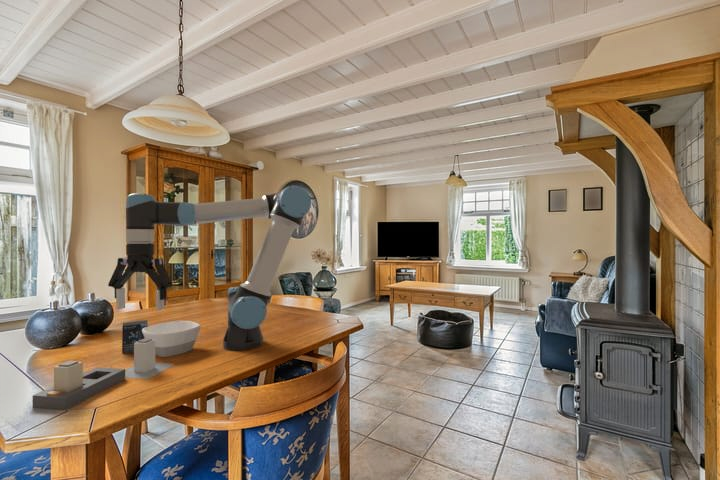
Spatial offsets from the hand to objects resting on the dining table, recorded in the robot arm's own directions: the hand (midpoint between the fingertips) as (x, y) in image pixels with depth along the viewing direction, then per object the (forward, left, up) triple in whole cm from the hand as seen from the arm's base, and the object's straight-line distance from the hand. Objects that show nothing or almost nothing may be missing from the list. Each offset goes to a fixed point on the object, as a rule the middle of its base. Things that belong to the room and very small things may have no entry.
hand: (140, 309), depth 109 cm
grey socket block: (+2, +18, -19) cm, 26 cm away
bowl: (+1, -16, -20) cm, 26 cm away
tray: (-3, +2, -19) cm, 20 cm away
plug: (-3, +2, -19) cm, 19 cm away
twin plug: (+2, +22, -19) cm, 29 cm away
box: (+15, -15, -20) cm, 29 cm away
